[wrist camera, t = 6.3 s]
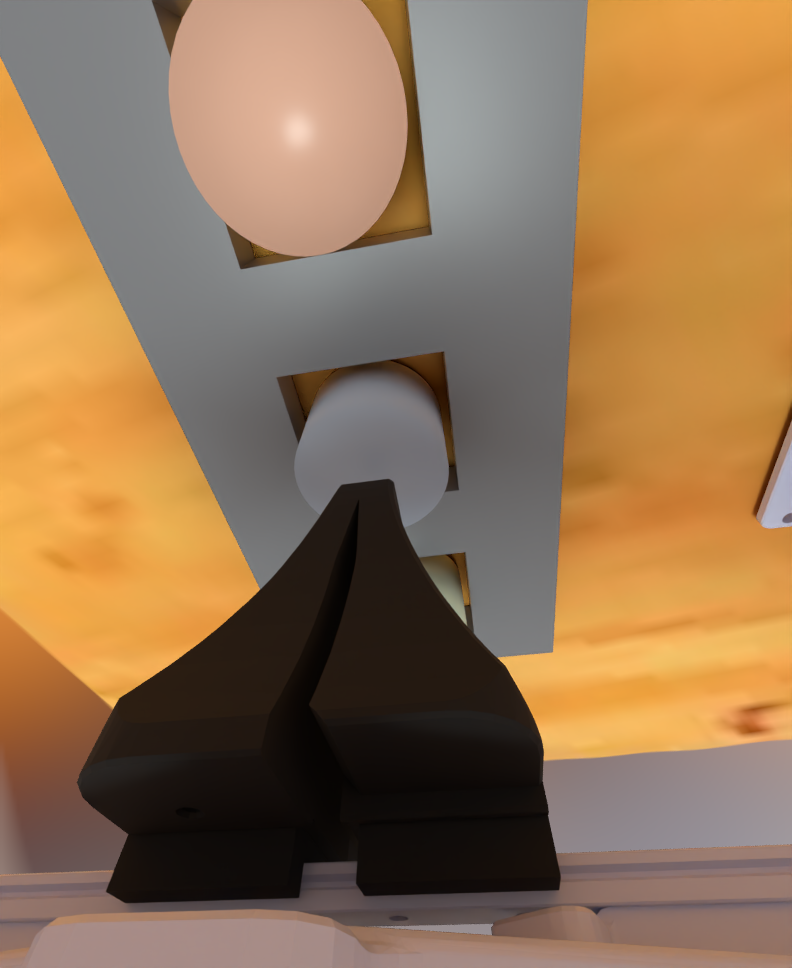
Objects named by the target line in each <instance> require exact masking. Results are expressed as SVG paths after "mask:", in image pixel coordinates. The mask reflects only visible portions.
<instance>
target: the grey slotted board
mask: <svg viewBox="0 0 792 968" xmlns="http://www.w3.org/2000/svg"><path fill="white" fill-rule="evenodd" d="M191 2H192V0H0V57H1V59H2V61H3V63H4V65H5V67H6V69H7V71H8V73H9V75H10V77H11V79H12V81H13V83H14V85H15V87H16V89H17V91H18V93H19V96H20V98H21V100H22V102H23V104H24V106H25V108H26V110H27V112H28V114H29V116H30V118H31V120H32V122H33V124H34V126H35V128H36V130H37V132H38V134H39V137H40V139H41V141H42V143H43V145H44V147H45V149H46V151H47V153H48V155H49V157H50V159H51V161H52V163H53V165H54V167H55V169H56V171H57V173H58V175H59V178H60V180H61V182H62V184H63V186H64V188H65V190H66V192H67V194H68V196H69V198H70V200H71V202H72V204H73V206H74V208H75V210H76V212H77V214H78V216H79V219H80V221H81V223H82V225H83V227H84V229H85V231H86V233H87V235H88V237H89V239H90V241H91V243H92V245H93V247H94V249H95V251H96V253H97V255H98V257H99V260H100V262H101V264H102V266H103V268H104V270H105V272H106V274H107V276H108V278H109V280H110V282H111V284H112V286H113V288H114V290H115V292H116V294H117V296H118V298H119V301H120V303H121V305H122V307H123V309H124V311H125V313H126V315H127V317H128V319H129V321H130V323H131V325H132V327H133V329H134V331H135V333H136V335H137V337H138V339H139V342H140V344H141V346H142V348H143V350H144V352H145V354H146V356H147V358H148V360H149V362H150V364H151V366H152V368H153V370H154V372H155V374H156V376H157V378H158V380H159V383H160V385H161V387H162V389H163V391H164V393H165V395H166V397H167V399H168V401H169V403H170V405H171V407H172V409H173V411H174V413H175V415H176V417H177V419H178V421H179V424H180V426H181V428H182V430H183V432H184V434H185V436H186V438H187V440H188V442H189V444H190V446H191V448H192V450H193V452H194V454H195V456H196V458H197V460H198V463H199V465H200V467H201V469H202V471H203V473H204V475H205V477H206V479H207V481H208V483H209V485H210V487H211V489H212V491H213V493H214V495H215V497H216V499H217V501H218V504H219V506H220V508H221V510H222V512H223V514H224V516H225V518H226V520H227V522H228V524H229V526H230V528H231V530H232V532H233V534H234V536H235V538H236V540H237V542H238V545H239V547H240V549H241V551H242V553H243V555H244V557H245V559H246V561H247V563H248V565H249V567H250V569H251V571H252V573H253V575H254V577H255V579H256V581H257V583H258V586H259V588H260V589H261V588H262V587H263V586H264V585H265V584H266V583H267V582H268V581H269V580H270V579H271V578H272V577H273V576H274V575H275V574H276V572H277V571H278V570H279V569H280V568H281V567H282V566H283V564H284V563H285V562H286V561H287V559H288V558H289V557H290V556H291V554H292V553H293V552H294V551H295V549H296V548H297V547H298V546H299V544H300V543H301V542H302V540H303V539H304V538H305V536H306V535H307V533H308V532H309V531H310V529H311V528H312V527H313V525H314V524H315V522H316V521H317V519H318V518H319V517H320V514H318V513H317V512H316V511H315V510H314V509H313V508H312V507H311V506H310V505H309V504H308V503H307V501H306V500H305V499H304V497H303V495H302V494H301V492H300V490H299V487H298V485H297V482H296V478H295V471H294V462H295V456H296V451H297V448H298V445H299V442H300V439H301V436H302V433H303V431H304V428H305V425H306V421H305V418H304V415H303V412H302V408H301V405H300V402H299V399H298V395H297V392H296V389H295V386H294V382H293V379H292V376H291V375H295V374H301V373H308V372H314V371H320V370H327V369H333V368H340V367H346V366H353V365H359V364H365V363H372V362H378V361H385V360H391V359H398V358H404V357H411V356H417V355H423V354H430V353H436V352H443V360H444V369H445V378H446V387H447V397H448V406H449V415H450V425H451V434H452V443H453V453H454V462H455V466H453V467H449V476H448V483H447V486H446V490H445V492H444V494H443V496H442V498H441V500H440V501H439V503H438V504H437V505H436V506H435V508H434V509H433V510H432V511H431V512H430V513H429V514H427V515H426V516H425V517H424V518H422V519H421V520H419V521H418V522H416V523H414V524H412V525H410V526H407V527H405V531H406V533H407V535H408V538H409V540H410V542H411V544H412V546H413V548H414V550H415V552H416V554H417V555H418V557H427V556H436V555H445V554H454V553H463V552H464V555H465V564H466V573H467V583H468V592H469V601H470V606H465V615H466V622H467V626H468V628H469V629H470V630H471V631H472V632H473V633H474V634H475V635H476V637H477V638H478V639H479V640H480V641H481V642H482V643H483V644H484V645H485V646H486V647H487V648H488V649H489V650H490V651H491V652H492V653H493V654H494V655H495V656H496V657H506V656H517V655H528V654H539V653H550V652H553V640H554V621H555V602H556V583H557V565H558V546H559V527H560V509H561V490H562V471H563V452H564V434H565V415H566V396H567V378H568V359H569V340H570V321H571V303H572V284H573V265H574V247H575V228H576V209H577V190H578V172H579V153H580V134H581V116H582V97H583V78H584V59H585V41H586V22H587V3H588V0H405V6H406V15H407V25H408V34H409V43H410V53H411V62H412V71H413V81H414V90H415V99H416V108H417V118H418V127H419V136H420V146H421V155H422V164H423V174H424V183H425V192H426V201H427V211H428V220H429V227H424V228H418V229H413V230H407V231H402V232H396V233H391V234H386V235H380V236H375V237H369V238H364V239H358V240H355V241H354V242H352V243H350V244H349V245H347V246H346V247H343V248H341V249H339V250H336V251H334V252H331V253H327V254H323V255H317V256H308V257H304V256H290V255H285V254H276V255H270V256H265V257H259V258H255V257H254V253H253V250H252V247H251V244H250V241H249V240H247V239H246V238H244V237H243V236H241V235H240V234H238V233H237V232H236V231H235V230H233V229H232V228H231V227H230V226H228V225H227V224H226V223H225V222H224V221H223V220H222V219H221V218H220V217H219V216H218V215H217V214H216V213H215V211H214V210H213V209H212V208H211V206H210V205H209V204H208V203H207V202H206V200H205V199H204V197H203V196H202V194H201V193H200V191H199V190H198V188H197V187H196V185H195V183H194V181H193V180H192V178H191V176H190V174H189V172H188V170H187V168H186V166H185V163H184V161H183V158H182V156H181V153H180V151H179V147H178V144H177V141H176V137H175V134H174V129H173V124H172V119H171V114H170V104H169V68H170V60H171V53H172V49H173V45H174V41H175V37H176V34H177V31H178V29H179V26H180V24H181V18H180V17H183V16H184V14H185V13H186V11H187V9H188V7H189V6H190V4H191Z"/></svg>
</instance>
